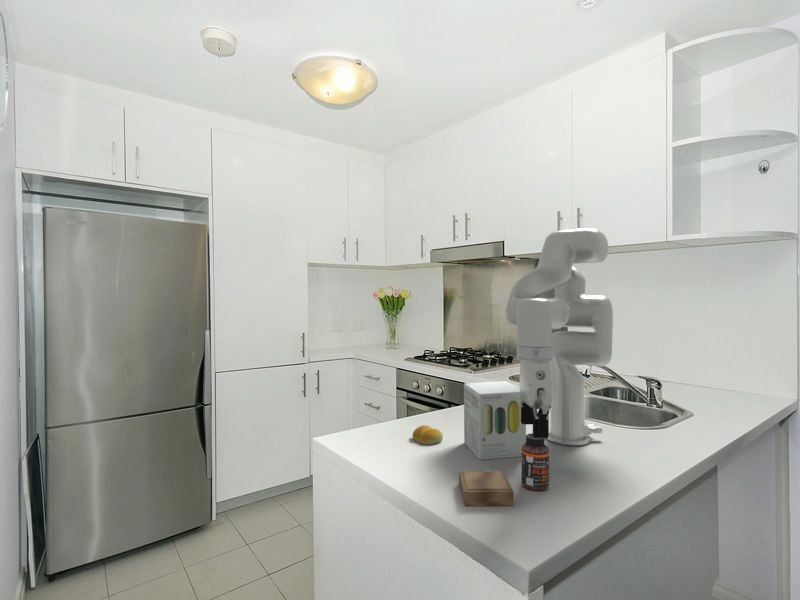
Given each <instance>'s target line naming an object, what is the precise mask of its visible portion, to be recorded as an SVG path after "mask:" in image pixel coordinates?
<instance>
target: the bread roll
mask: <svg viewBox="0 0 800 600" xmlns="http://www.w3.org/2000/svg"><path fill="white" fill-rule="evenodd" d="M443 438H444V437H443V432H442V431H441V430H440V429H437V428H433V427H431V426H430V425H425V424H423V425H420V426H418V427H416V428H415V429H414V431H412V439H413V440H414V441H416V442H417V441H418V442H417V443H420V444H421V445H425V444H426V445H427V444H429V445H437V444H440V443H441V442H442V441H443ZM439 442H440V443H439Z"/></svg>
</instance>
